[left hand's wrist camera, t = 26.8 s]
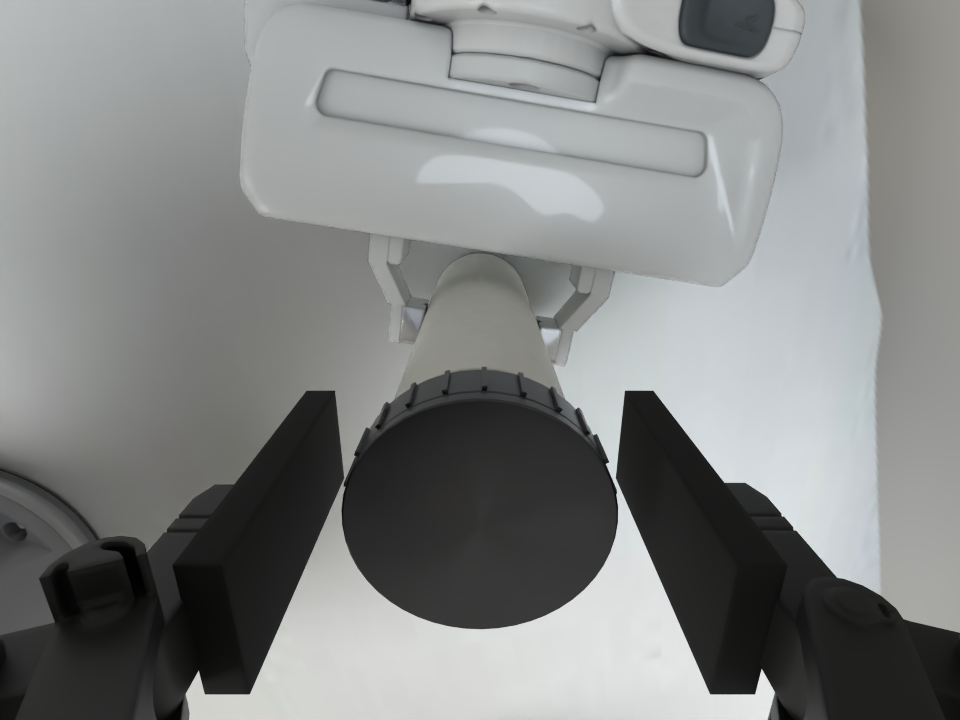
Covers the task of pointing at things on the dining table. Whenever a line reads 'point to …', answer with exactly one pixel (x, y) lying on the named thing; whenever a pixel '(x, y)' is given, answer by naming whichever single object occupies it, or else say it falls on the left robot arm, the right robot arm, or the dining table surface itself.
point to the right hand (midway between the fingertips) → (477, 350)
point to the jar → (479, 326)
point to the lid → (479, 501)
